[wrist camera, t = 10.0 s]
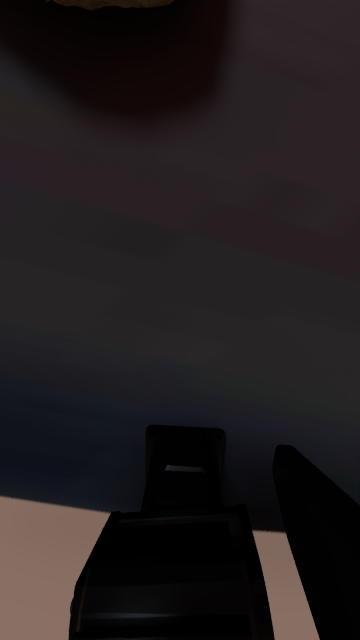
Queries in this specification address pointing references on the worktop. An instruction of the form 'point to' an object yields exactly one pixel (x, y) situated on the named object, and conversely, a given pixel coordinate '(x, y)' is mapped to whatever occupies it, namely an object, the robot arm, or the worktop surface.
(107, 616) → the robot arm
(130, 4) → the speckled rock
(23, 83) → the worktop surface
